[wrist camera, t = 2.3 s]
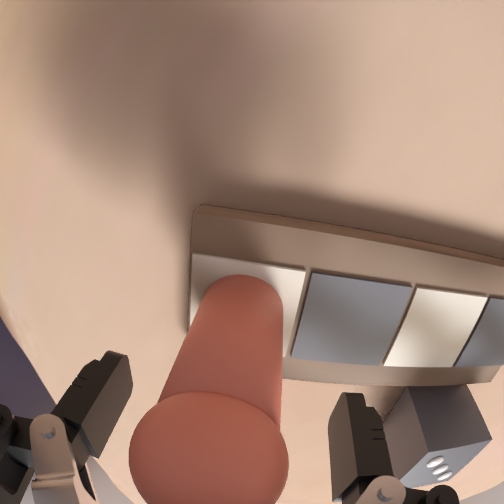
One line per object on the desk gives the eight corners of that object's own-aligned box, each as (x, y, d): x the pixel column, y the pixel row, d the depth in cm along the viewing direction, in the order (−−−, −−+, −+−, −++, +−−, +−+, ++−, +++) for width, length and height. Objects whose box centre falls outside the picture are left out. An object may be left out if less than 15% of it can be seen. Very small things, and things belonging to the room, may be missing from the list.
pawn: (198, 261, 14) (83, 470, 4) (298, 276, 14) (307, 518, 4) (195, 338, 16) (126, 522, 6) (280, 352, 16) (268, 550, 6)
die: (406, 385, 18) (429, 454, 13) (466, 383, 18) (492, 440, 12) (375, 432, 21) (386, 493, 15) (432, 428, 20) (448, 481, 15)
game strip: (201, 204, 15) (191, 213, 13) (534, 267, 14) (548, 278, 12) (194, 346, 18) (187, 364, 17) (483, 369, 17) (491, 383, 16)
